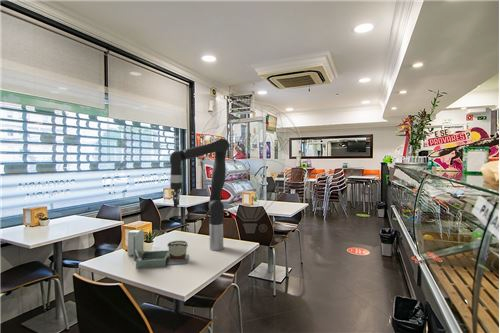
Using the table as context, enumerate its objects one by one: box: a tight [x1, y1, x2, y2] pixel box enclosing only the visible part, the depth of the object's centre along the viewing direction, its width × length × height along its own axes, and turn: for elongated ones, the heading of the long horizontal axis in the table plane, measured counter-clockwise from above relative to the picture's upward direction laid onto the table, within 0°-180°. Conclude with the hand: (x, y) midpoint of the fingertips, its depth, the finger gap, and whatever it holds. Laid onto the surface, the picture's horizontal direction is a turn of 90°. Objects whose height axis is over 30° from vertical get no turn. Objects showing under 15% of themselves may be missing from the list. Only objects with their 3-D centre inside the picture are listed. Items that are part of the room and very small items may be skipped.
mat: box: [166, 254, 190, 266], centre depth 158 cm, size 11×14×1 cm
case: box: [133, 228, 170, 269], centre depth 155 cm, size 17×16×18 cm
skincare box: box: [127, 229, 145, 256], centre depth 170 cm, size 8×6×15 cm
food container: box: [167, 240, 188, 260], centre depth 160 cm, size 12×6×10 cm, turn 86°
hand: (176, 206), depth 173 cm, fingers open, 8 cm apart
